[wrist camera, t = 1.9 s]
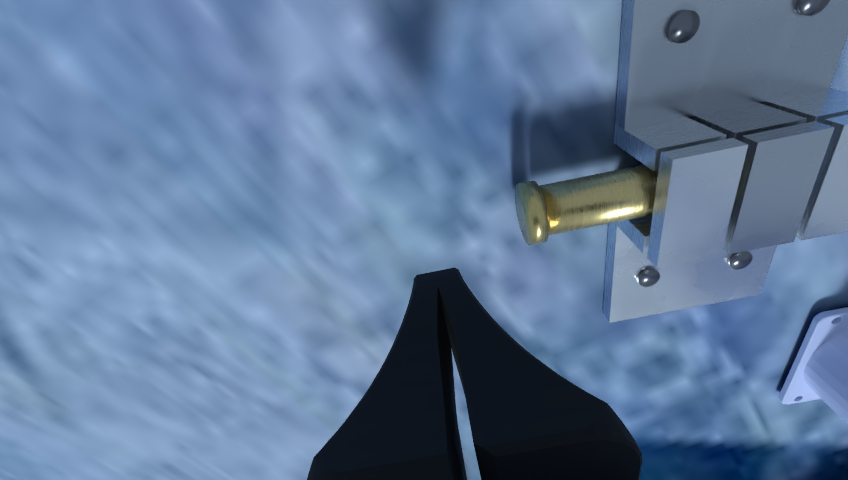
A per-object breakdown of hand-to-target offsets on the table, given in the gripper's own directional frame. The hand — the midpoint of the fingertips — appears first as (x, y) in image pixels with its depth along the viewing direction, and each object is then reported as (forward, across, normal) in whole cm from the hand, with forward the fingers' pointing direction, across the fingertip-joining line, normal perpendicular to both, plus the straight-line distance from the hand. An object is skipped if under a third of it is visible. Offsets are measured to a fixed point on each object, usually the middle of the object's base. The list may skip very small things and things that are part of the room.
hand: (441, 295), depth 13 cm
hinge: (+6, -12, 0) cm, 13 cm away
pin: (+6, -9, 0) cm, 10 cm away
